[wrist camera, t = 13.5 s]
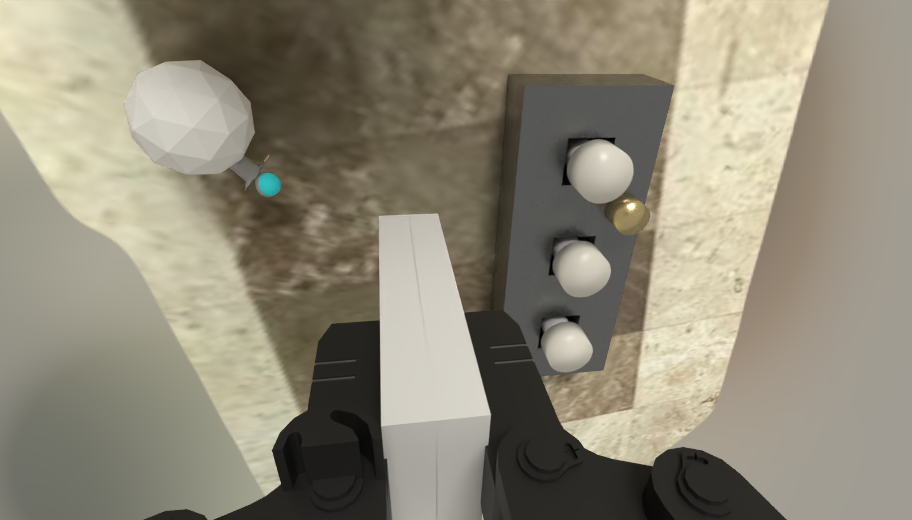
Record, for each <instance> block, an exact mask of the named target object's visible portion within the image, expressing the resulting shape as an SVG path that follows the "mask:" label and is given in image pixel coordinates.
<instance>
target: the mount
mask: <svg viewBox="0 0 912 520" xmlns="http://www.w3.org/2000/svg"><path fill="white" fill-rule="evenodd" d="M673 89H674V85H672V84H669V83H666V82H664V81H661V80H658V79H655V78H652V77H649V76H646V75H643V74H509V75H508V88H507V102H506V115H505V128H504V141H503V155H502V168H501V181H500V194H499V208H498V221H497V234H496V247H495V260H494V274H493V287H492V300H491V311H496V310H504V311H505V312H506V313H507V314H508V315H509V316H510V317H511V318H512V319H513V320H514V321H515V322H517V323H518V324H519V326H520V328H521V331H522V333H523V336H524V338H525V341H526V345H527V346H528V348H529V350H530V353H531V355H532V357H533V362H535V365H536V367H537V369H538V372H539V374H540V376H547V375H558V374H568V373H579V372H590V371H601V370H603V369H604V365H605V361H606V357H607V353H608V349H609V345H610V341H611V337H612V333H613V329H614V325H615V321H616V317H617V313H618V309H619V305H620V301H621V297H622V293H623V289H624V285H625V281H626V277H627V273H628V269H629V265H630V261H631V257H632V253H633V249H634V245H635V241H636V237H637V233H636V234H633V235H624V234H621V233H620V232H619V231H618V230H617V229H616V228H615V227H614V226H613V225H612V224H611V223H610V222H609V221H608V219H607V216H606V210H607V207H608V205H609V204H610V202H611V201H610V202H607V203H601V204H597V203H592V202H590V201H588V200H586V199H585V198H584V197H583V196H582V195H581V194H580V193H579V192H578V191H577V190H576V189H575V188H574V187H573V186H572V185H571V183H570V182H569V179H568V176H567V166H566V165H565V159H566V152H567V145H568V138H589V139H588V140H590V141H591V140H596V139H602V140H606V141H609V142H610V143H612V144H613V145H615V146H616V147H618V148H619V149H621V150H622V151H624V152H625V153H626V154H627V155H628V156H629V157H630V159H631V160H632V163H633V169H634V170H633V177H632V180H631V183H630V185H629V186H628V188H627V189H626V190H625V192H624V193H623V194H630V195H633V196H634V197H636V198H637V199H638V200H639V201H640V202H642V203H643V204H644V205H645V201H646V197H647V193H648V189H649V185H650V181H651V177H652V173H653V169H654V165H655V161H656V157H657V153H658V149H659V145H660V141H661V137H662V133H663V129H664V125H665V121H666V117H667V113H668V109H669V105H670V101H671V97H672V93H673ZM623 194H622V195H623ZM564 237H577V238H578V239H579V241H587V242H590V243H592V244H594V245H595V246H596V248H597V249H598V250H599V251H600V252H601V254H602V255H603V256H604V257H605V258H606V260H607V261H608V262H609V264H610V267H611V274H610V278H609V280H608V282H607V283H606V285H605V286H604V287H603V288H602V289H601V290H600V291H598V292H597V293H595V294H593V295H590V296H587V297H574V296H571V295H569V294H568V293H566V292H565V290H564V289H563V287H562V286H561V284H560V282H559V281H558V279H557V277H556V276H555V274H554V272H553V260H554V256H553V255H552V247H553V240H554V238H564ZM561 316H566V318H567V320H568V322H574V323H576V324H578V325H579V326H580V327H581V328H582V330H583V331H584V333H585V335H586V337H587V338H588V340H589V342H590V343H591V345H592V348H593V353H592V356H591V358H590V360H589V361H588V362H587V363H586V364H585V365H584V366H583V367H581V368H580V369H578V370H575V371H572V372H559V371H556V370H554V369H553V368H552V367H551V366H550V364H549V362H548V360H547V358H546V355H545V353H544V351H543V349H542V346H541V339H542V336H543V334H544V332H543V330H542V328H541V322H542V318H548V317H561Z"/></svg>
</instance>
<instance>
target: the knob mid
mask: <svg viewBox="0 0 912 520" xmlns="http://www.w3.org/2000/svg"><path fill="white" fill-rule="evenodd" d="M552 255H553V256H554V260H553V272H554V274H555V276H556V277H557V279H558V281H559V282H560V284H561V286H562V287H563V289H564V290H565V292H566V293H568V294H569V295H571V296H574V297H587V296H590V295H593V294H595V293H597V292H598V291H600V290H601V289H602V288H603V287H604V286H605V285H606V283H607V282H608V280H609V278H610V274H611V267H610V264H609V262H608V261H607V260H606V258H605V257H604V256H603V255H602V254H601V252H600V251H599V250H598V249H597V248H596V246H595V245H594V244H592V243H590V242H587V241H579V239H578V238H577V237H564V238H554V240H553V247H552Z"/></svg>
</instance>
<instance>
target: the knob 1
mask: <svg viewBox="0 0 912 520" xmlns="http://www.w3.org/2000/svg"><path fill="white" fill-rule="evenodd" d="M541 328H542V330H543V332H544V334H543V336H542V339H541V346H542V349H543V351H544V353H545V355H546V358H547V360H548V362H549V364H550V366H551V367H552V368H553V369H554V370H556V371H559V372H572V371H575V370H578V369H580V368H581V367H583V366H584V365H585V364H586V363H587V362H588V361H589V360H590V358H591V356H592V353H593V348H592V345H591V343H590V342H589V340H588V338H587V337H586V335H585V333H584V331H583V330H582V328H581V327H580V326H579V325H578V324H576V323H574V322H568V320H567V318H566V316H561V317H548V318H542V322H541Z"/></svg>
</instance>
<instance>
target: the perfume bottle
mask: <svg viewBox="0 0 912 520" xmlns="http://www.w3.org/2000/svg"><path fill="white" fill-rule="evenodd" d="M124 106H125V110H126V114H127V119H128V123H129V127H130V131H131V135H132V138H133V139H134V140H135V141H136V143H137V144H138V145H139V146H140V147H141V148H142V149H143V151H144V152H145V153H146V154H147V155H148V156H149V157H150V159H151V160H152V161H153V162H154V163H157V164H160V165H162V166H165V167H168V168H170V169H173V170H175V171H178V172H181V173H183V174H186V175H198V174H220V173H222V172H223V171H225V170H226V169H228V168H230V169H232V170H233V171H234V172H235V173H236V174H237V175H239V176H240V177H241V178H242V179H244V180H245V181H246V185H245V189H244V190H243V191H245V190H246V188H247V187H248V186H249V184H250V183H251V182H252V181H253V180H254V182H255V186H256V189H257V191H258V192H259V193H260V194H261V195H262V196H265V197H272V196H274V195H276V194H277V193H278V192H279V191H280V189H281V182H280V179H279V178H278V177H277V176H276V175H274V174H272V173H269V172H265V173H262V174H259V173H260V169H261V167H262V166H263V164H264V163H265V161H266V160H267V159H268V157H269V155H270V154H269V155H268V156H267V157H266V158H265V160H263V161H262V164H260V165H259V166H258V165H256V164H255V163H254V162H252V161H251V160H250V159H249V158H247V157H246V156H245V155H244V154H245V152H246V150H247V148H248V146H249V144H250V142H251V140H252V138H253V136H254V134H255V131H254V124H253V117H252V110H251V102H250V101H249V100H248V99H247V98H246V97H245V95H244V94H243V93H242V92H241V91H240V90H239V89H238V87H237V86H236V85H235V84H234V83H233V82H232V81H231V79H229V78H227V77H226V76H224V75H223V74H221V73H220V72H218V71H217V70H215V69H214V68H212V67H211V66H209V65H207V64H206V63H204V62H203V61H201V60H192V61H171V62H164V63H162V64H159V65H157V66H154V67H152V68H150V69H147V70H145V71H142V72H140V73H138V74H137V76H136V78H135V80H134V83H133V85H132V87H131V89H130V91H129V94H128V96H127V98H126V100H125V102H124Z"/></svg>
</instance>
